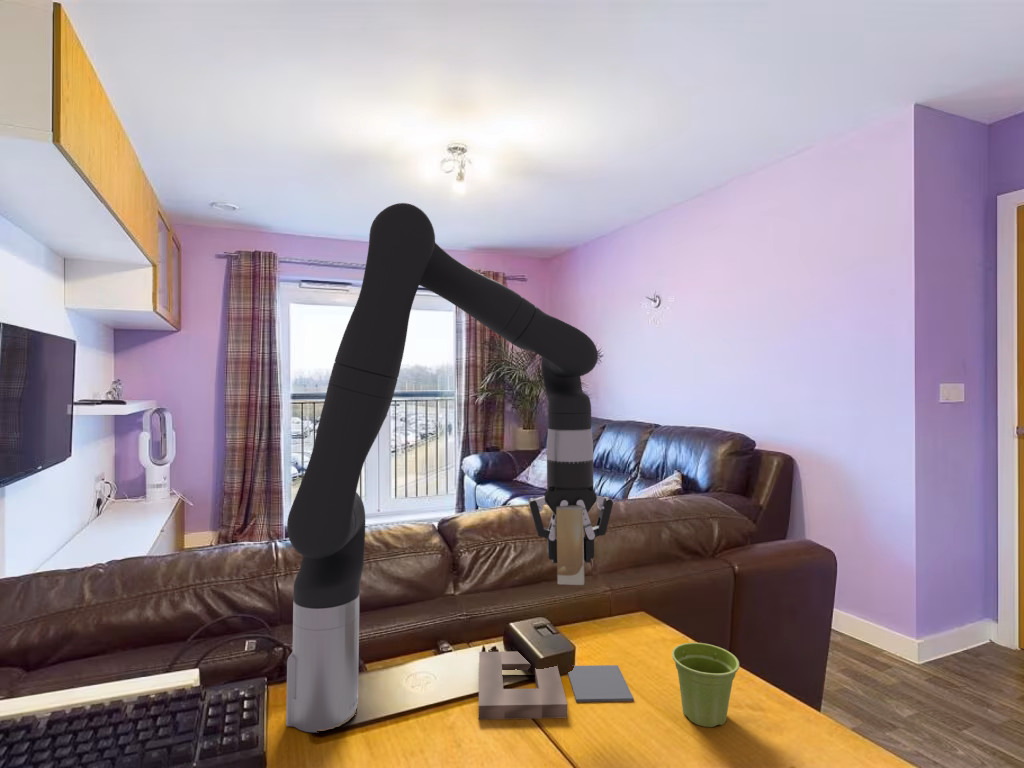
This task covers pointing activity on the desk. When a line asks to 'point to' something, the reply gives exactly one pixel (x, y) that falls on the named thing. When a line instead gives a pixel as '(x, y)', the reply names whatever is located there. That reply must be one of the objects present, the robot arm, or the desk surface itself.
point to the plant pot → (705, 681)
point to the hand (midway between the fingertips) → (570, 561)
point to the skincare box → (570, 545)
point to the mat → (599, 684)
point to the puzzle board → (518, 690)
